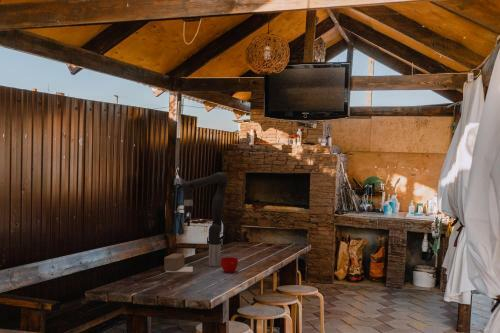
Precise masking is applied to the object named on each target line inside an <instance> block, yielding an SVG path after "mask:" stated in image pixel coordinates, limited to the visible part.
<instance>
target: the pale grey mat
mask: <svg viewBox="0 0 500 333" xmlns="http://www.w3.org/2000/svg"><path fill="white" fill-rule="evenodd" d="M193 271H194V266H183V267H182V268H180V269H178V270H177V271H168V270H165V273H193Z"/></svg>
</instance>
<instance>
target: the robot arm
mask: <svg viewBox="0 0 500 333" xmlns="http://www.w3.org/2000/svg"><path fill="white" fill-rule="evenodd" d="M228 178H229V176H228V175H227V173H226V172H222V171H218V172H215V173H213V174H211V175H208V176H205V177H200V178H199V177H198V178H195V179H193V180H185V181H183V182H182V184H181V188H182V192H183V211H184V212H186V213H185V217H186V218H185V219H186V222H187V223H186V226H187V227H190V226H191V219H192V218H191V217H192V213H191V212H193V210H194V202H193V193H192V192H191V190H194V189H196V188H201V187H205V186H207V185H210V184H217V189H216V192H215V194H214V196H213V199H212V206H211V207H212V209H211V210H212V211H211V212H212V222H211V225H210V226H209V229H208V266H209V267H220V266H221V250H222V249H221V246H222V245H221V233H222V230H223V229H222V228H223V227H222V226H223V225H222V224H223V222H222V220H223V216H224V215H223V214H224V208H225V207H224V206H225V198H226V189H227V184H228V180H229V179H228Z"/></svg>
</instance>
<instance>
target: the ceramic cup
mask: <svg viewBox="0 0 500 333" xmlns="http://www.w3.org/2000/svg"><path fill="white" fill-rule="evenodd" d="M238 264H239V258H238V257H232V256H231V257H230V256H229V257H227V256H226V257H222V258H221V257H220V266H221V268H222V270H223V272H225V273H228V274H229V273H230V274H232V273H234V272H235V271H236V270H237V267H238Z"/></svg>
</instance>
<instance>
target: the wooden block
mask: <svg viewBox="0 0 500 333" xmlns="http://www.w3.org/2000/svg"><path fill="white" fill-rule="evenodd" d="M163 258H164V259H163V262H164V264H163V270H164V271H166V270H168V271H177V270H178V269H180V268H182V267H185V254H184V253H175V252H174V253H171V254H170V255H167V256H165V257H163Z"/></svg>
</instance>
